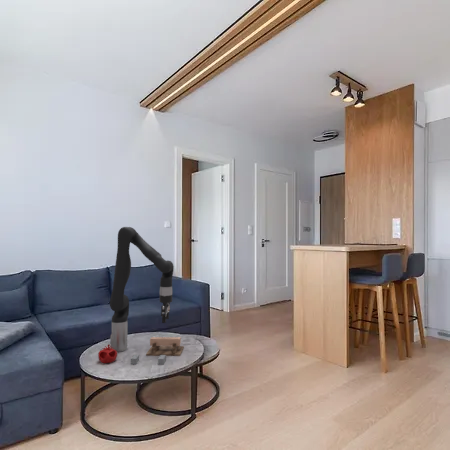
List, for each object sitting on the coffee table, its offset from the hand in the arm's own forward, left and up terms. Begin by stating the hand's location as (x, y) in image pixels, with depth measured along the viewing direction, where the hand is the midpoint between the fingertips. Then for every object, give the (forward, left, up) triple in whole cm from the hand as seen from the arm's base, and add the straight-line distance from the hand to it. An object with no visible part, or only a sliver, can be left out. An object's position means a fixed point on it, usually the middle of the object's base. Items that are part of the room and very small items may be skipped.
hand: (165, 321), depth 204 cm
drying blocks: (-6, -17, -18) cm, 26 cm away
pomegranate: (-29, -16, -19) cm, 38 cm away
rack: (0, 0, -18) cm, 18 cm away
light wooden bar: (0, 0, -14) cm, 14 cm away
